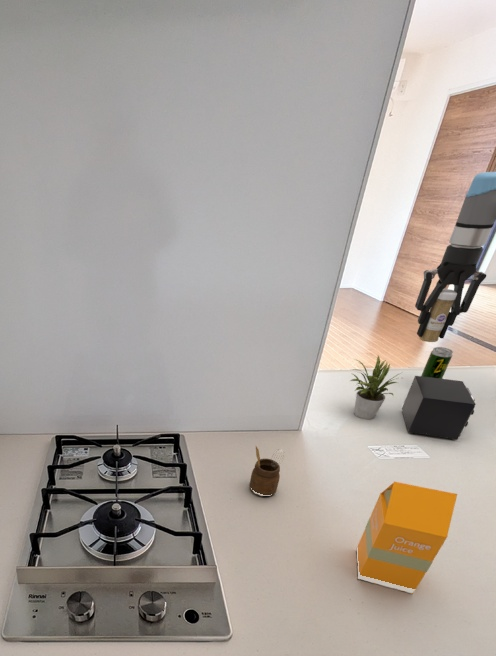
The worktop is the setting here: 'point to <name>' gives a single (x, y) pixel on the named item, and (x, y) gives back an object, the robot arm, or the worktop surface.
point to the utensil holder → (265, 475)
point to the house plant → (371, 391)
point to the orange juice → (405, 533)
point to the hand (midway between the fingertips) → (429, 335)
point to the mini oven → (438, 407)
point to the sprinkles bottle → (438, 315)
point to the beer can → (437, 362)
